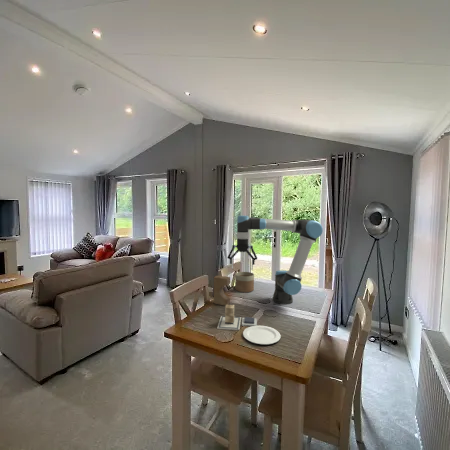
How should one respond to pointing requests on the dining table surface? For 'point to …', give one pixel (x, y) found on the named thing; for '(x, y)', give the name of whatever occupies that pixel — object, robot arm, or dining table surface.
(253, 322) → the ink pad
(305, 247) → the robot arm
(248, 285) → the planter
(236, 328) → the board
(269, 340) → the plate
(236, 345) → the dining table surface
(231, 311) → the stamp
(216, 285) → the decorative block
